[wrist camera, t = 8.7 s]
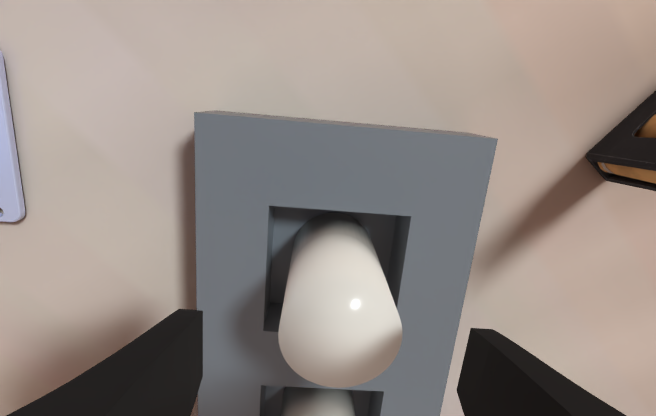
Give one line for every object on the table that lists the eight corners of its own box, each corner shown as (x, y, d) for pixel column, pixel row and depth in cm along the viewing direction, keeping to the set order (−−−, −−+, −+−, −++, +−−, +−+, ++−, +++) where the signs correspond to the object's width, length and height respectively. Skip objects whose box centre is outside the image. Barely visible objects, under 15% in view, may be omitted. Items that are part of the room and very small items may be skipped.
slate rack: (213, 473, 23) (167, 642, 16) (214, 110, 17) (140, 116, 10) (403, 480, 24) (440, 645, 16) (468, 132, 18) (572, 153, 10)
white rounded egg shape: (292, 285, 19) (277, 386, 12) (293, 211, 18) (279, 278, 11) (369, 287, 19) (396, 388, 12) (375, 214, 18) (409, 282, 11)
